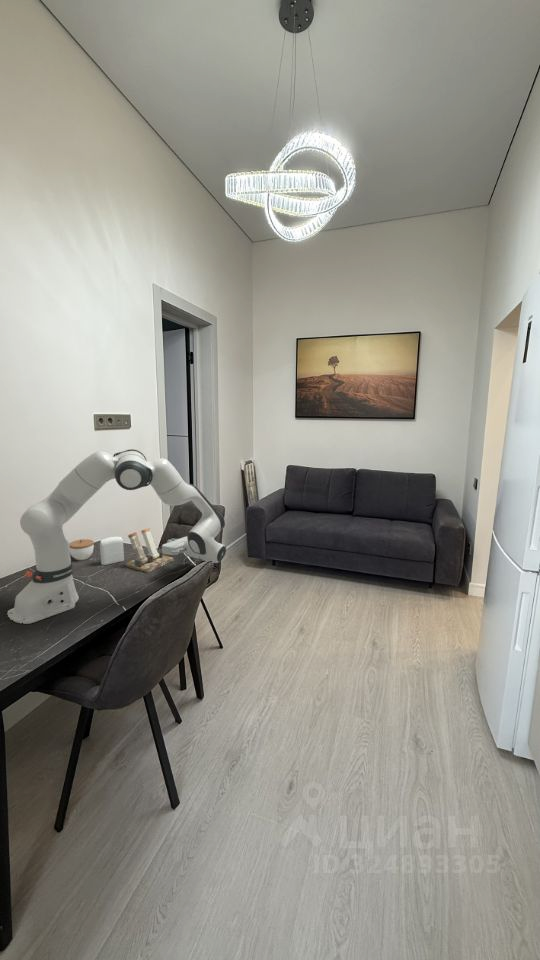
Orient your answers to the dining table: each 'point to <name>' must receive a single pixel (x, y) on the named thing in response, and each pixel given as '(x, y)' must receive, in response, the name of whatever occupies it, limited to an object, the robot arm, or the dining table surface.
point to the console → (145, 557)
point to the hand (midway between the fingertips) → (169, 540)
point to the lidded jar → (81, 549)
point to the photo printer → (111, 550)
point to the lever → (150, 543)
